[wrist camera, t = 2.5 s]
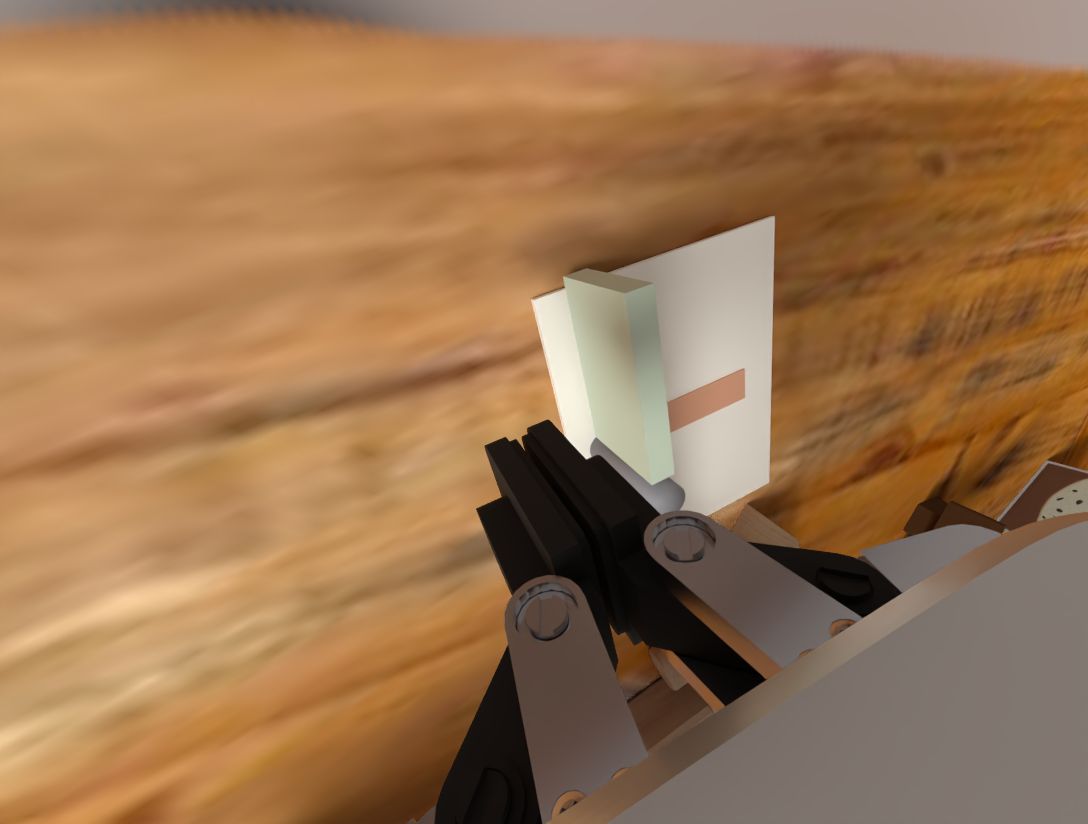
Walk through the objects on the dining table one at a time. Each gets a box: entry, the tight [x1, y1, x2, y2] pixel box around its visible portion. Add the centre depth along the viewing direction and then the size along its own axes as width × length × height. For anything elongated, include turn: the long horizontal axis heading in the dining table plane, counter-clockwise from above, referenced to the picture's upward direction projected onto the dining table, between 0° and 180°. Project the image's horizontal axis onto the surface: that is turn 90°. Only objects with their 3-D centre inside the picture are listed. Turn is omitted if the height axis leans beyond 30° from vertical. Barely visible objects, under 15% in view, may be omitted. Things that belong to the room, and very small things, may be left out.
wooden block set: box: [627, 504, 799, 756], centre depth 33 cm, size 17×6×18 cm
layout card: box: [531, 216, 775, 516], centre depth 26 cm, size 18×14×1 cm
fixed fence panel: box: [590, 438, 685, 515], centre depth 25 cm, size 10×2×6 cm, turn 14°
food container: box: [996, 460, 1088, 532], centre depth 50 cm, size 12×6×10 cm, turn 142°
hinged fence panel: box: [563, 268, 675, 485], centre depth 20 cm, size 8×1×5 cm, turn 14°
